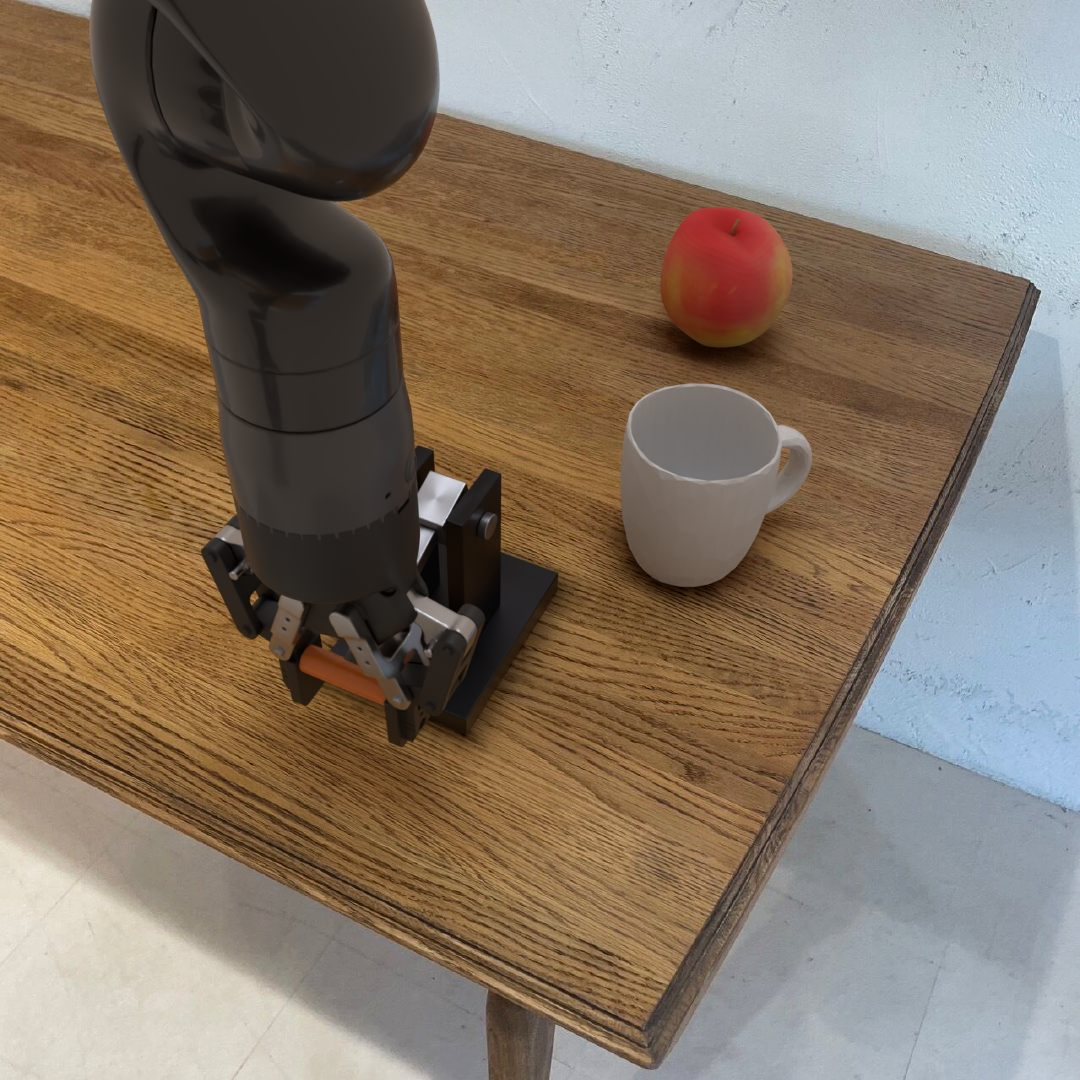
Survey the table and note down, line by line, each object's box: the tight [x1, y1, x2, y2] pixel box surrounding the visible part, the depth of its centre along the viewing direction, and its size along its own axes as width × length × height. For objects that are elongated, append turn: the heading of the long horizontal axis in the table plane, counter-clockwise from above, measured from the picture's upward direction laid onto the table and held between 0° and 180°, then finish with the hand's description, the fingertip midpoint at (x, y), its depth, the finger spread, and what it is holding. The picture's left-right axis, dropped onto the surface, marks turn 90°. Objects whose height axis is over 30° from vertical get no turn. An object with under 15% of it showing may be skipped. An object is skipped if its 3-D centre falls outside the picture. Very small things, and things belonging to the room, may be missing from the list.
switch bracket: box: [329, 444, 559, 736], centre depth 63 cm, size 12×9×12 cm
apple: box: [659, 206, 794, 348], centre depth 85 cm, size 10×10×10 cm
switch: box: [299, 471, 469, 707], centre depth 58 cm, size 12×5×2 cm, turn 155°
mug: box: [619, 382, 813, 588], centre depth 69 cm, size 13×9×10 cm
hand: (357, 711), depth 58 cm, fingers closed on switch, 5 cm apart
